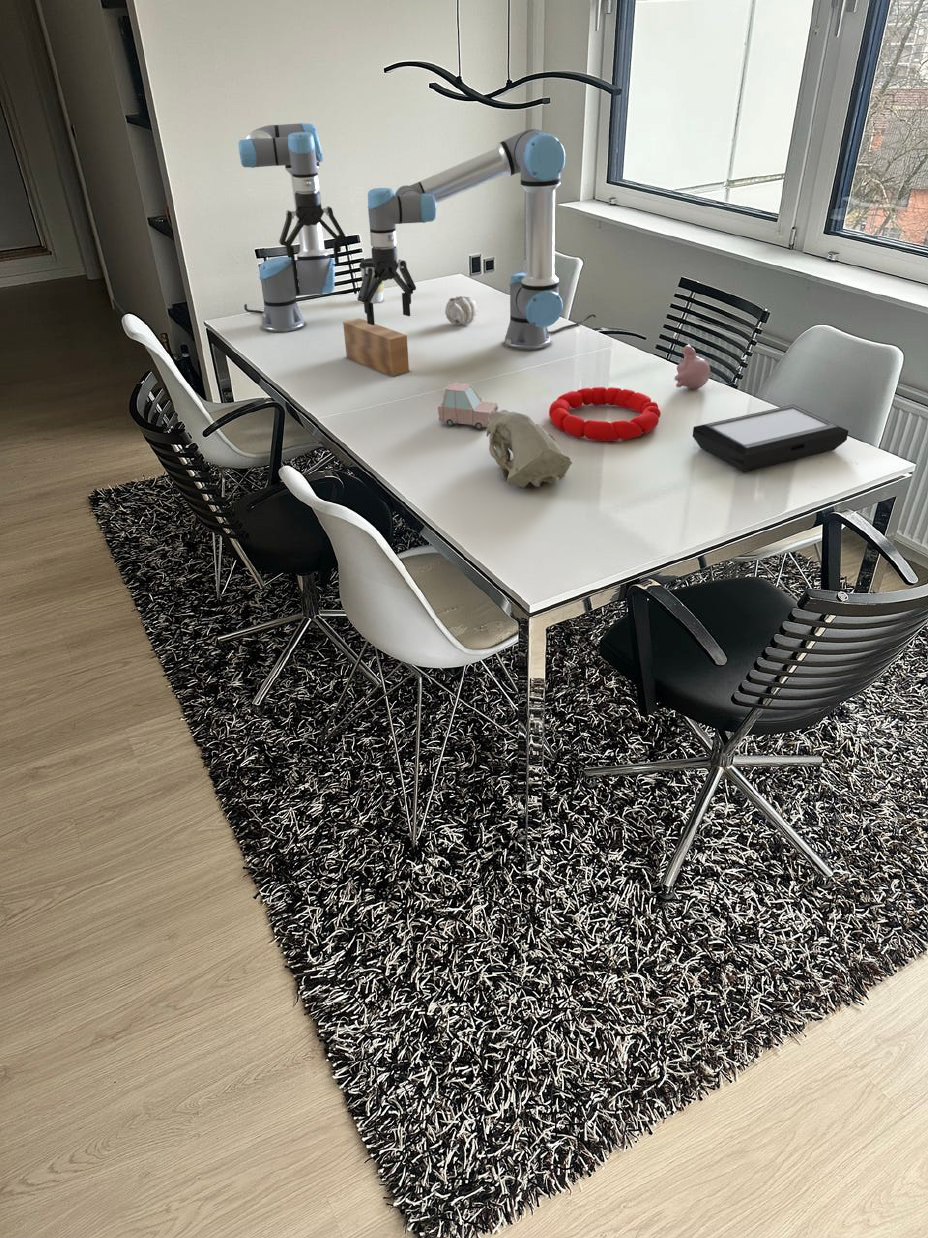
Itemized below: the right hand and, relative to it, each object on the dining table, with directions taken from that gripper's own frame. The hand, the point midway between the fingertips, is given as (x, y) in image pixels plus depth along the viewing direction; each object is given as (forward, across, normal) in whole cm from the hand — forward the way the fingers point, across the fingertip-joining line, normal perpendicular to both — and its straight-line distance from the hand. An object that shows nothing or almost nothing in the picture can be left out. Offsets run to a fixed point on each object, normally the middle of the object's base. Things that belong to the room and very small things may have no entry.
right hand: (389, 319), depth 274 cm
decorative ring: (+16, +16, -75) cm, 78 cm away
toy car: (+16, -11, -50) cm, 53 cm away
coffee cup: (+16, +44, +72) cm, 86 cm away
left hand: (-13, -9, +25) cm, 30 cm away
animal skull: (+16, -21, -82) cm, 86 cm away
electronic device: (+16, +33, -116) cm, 121 cm away
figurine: (+16, +53, -75) cm, 94 cm away
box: (+16, 0, +9) cm, 18 cm away
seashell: (+16, +48, +22) cm, 55 cm away
